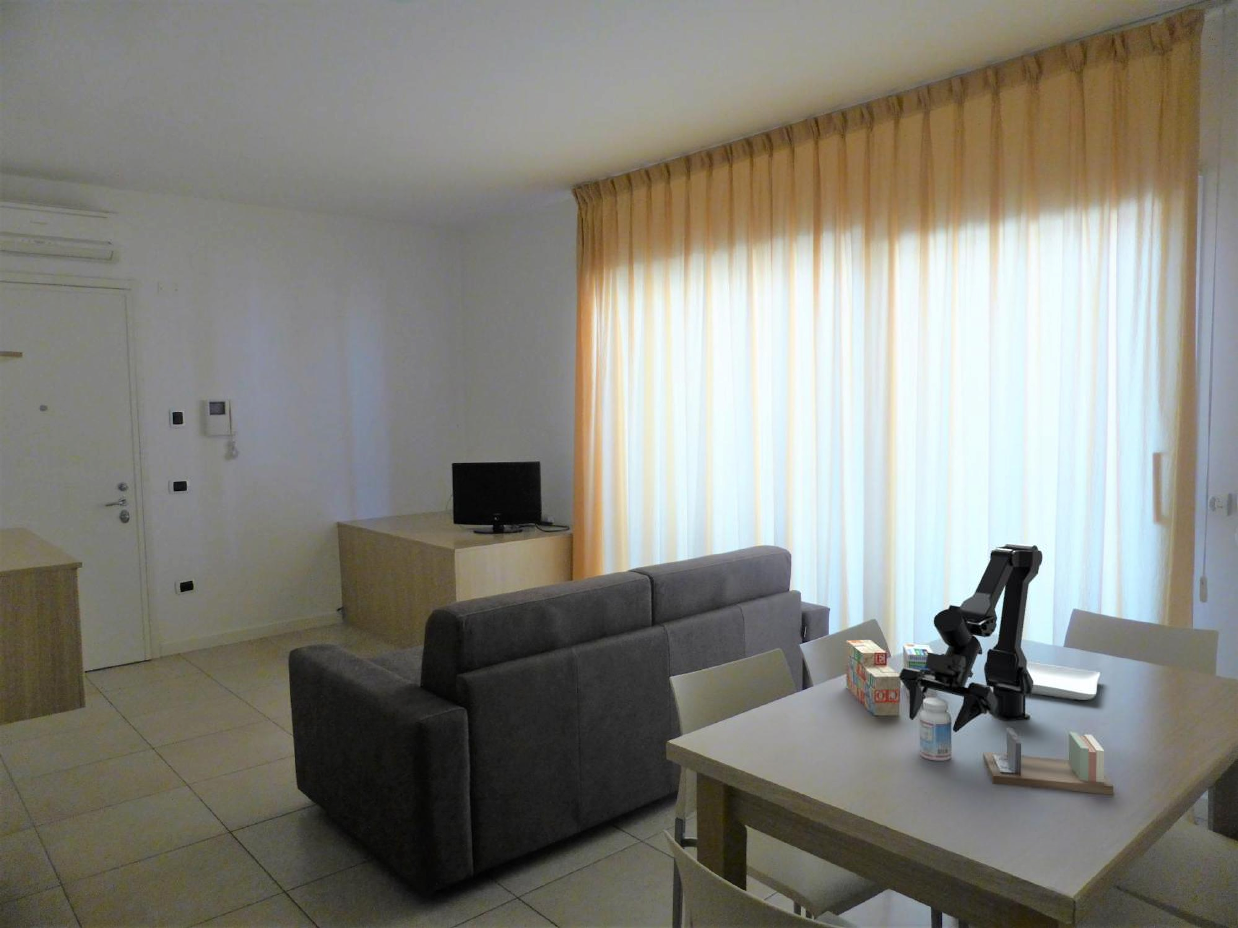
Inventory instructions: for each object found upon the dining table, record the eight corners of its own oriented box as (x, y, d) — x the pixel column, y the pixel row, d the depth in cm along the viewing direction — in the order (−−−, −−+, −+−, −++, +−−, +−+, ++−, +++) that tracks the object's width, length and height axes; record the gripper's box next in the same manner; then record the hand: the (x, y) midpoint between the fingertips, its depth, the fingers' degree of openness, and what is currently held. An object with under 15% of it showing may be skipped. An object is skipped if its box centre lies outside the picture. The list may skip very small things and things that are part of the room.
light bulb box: (936, 699, 203) (937, 655, 202) (907, 698, 204) (908, 654, 204) (929, 686, 213) (930, 644, 213) (902, 684, 215) (902, 642, 214)
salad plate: (1100, 683, 215) (1100, 670, 215) (1095, 707, 197) (1095, 693, 197) (1010, 670, 227) (1010, 658, 226) (997, 692, 209) (997, 679, 209)
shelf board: (983, 760, 167) (983, 752, 167) (1094, 769, 162) (1094, 761, 162) (993, 783, 156) (993, 775, 156) (1113, 794, 151) (1113, 786, 151)
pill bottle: (950, 751, 171) (951, 697, 170) (952, 763, 165) (952, 707, 165) (918, 748, 173) (919, 694, 172) (919, 759, 167) (919, 704, 167)
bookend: (992, 756, 165) (993, 726, 164) (1012, 757, 164) (1012, 727, 164) (1000, 772, 157) (1001, 741, 157) (1020, 774, 156) (1021, 743, 156)
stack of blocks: (900, 716, 192) (901, 662, 192) (873, 716, 192) (874, 663, 191) (870, 686, 214) (870, 638, 213) (845, 687, 213) (845, 639, 213)
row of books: (1068, 762, 161) (1069, 732, 161) (1091, 764, 160) (1091, 733, 160) (1080, 779, 154) (1080, 747, 153) (1104, 782, 153) (1104, 749, 152)
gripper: (903, 629, 178) (875, 691, 171) (991, 646, 164) (964, 715, 157) (922, 658, 183) (895, 720, 176) (1008, 677, 169) (983, 745, 162)
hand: (932, 724), depth 168 cm, fingers open, 9 cm apart
